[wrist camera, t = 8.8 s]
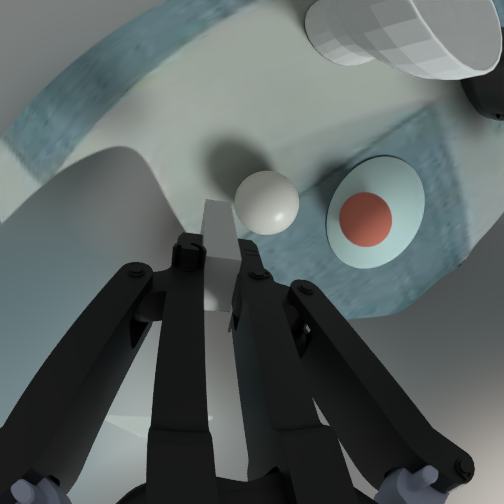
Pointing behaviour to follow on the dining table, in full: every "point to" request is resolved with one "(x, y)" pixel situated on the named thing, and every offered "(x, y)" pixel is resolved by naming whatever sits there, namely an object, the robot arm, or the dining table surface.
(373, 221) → the object ball
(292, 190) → the cue ball
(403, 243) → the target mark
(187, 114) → the dining table surface
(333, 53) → the cup
